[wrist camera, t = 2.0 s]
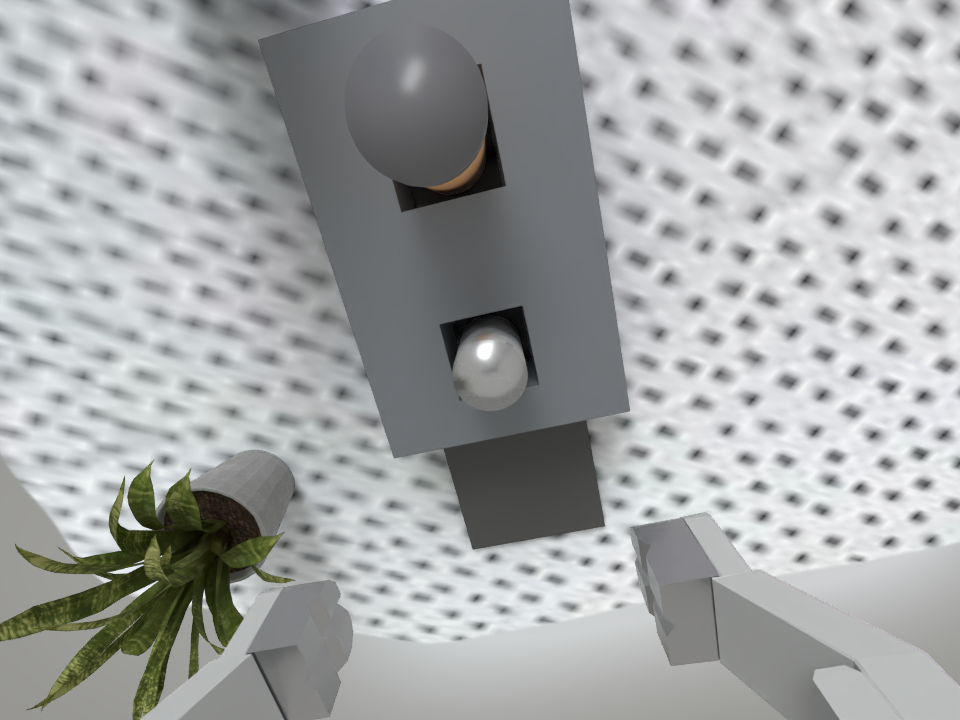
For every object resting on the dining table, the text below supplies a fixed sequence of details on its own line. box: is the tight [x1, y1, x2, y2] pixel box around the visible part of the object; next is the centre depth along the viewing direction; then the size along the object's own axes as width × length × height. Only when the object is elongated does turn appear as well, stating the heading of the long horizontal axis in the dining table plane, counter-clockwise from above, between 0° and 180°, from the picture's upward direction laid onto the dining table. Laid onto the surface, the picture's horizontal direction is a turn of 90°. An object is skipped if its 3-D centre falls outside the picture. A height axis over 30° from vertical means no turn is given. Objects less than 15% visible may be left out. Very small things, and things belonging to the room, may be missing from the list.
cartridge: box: [344, 24, 488, 195], centre depth 21 cm, size 5×5×12 cm
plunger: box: [452, 315, 528, 411], centre depth 24 cm, size 4×4×6 cm
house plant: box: [0, 450, 295, 720], centre depth 26 cm, size 14×14×16 cm
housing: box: [258, 0, 630, 458], centre depth 26 cm, size 22×14×5 cm, turn 13°
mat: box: [444, 420, 605, 549], centre depth 33 cm, size 10×10×1 cm
